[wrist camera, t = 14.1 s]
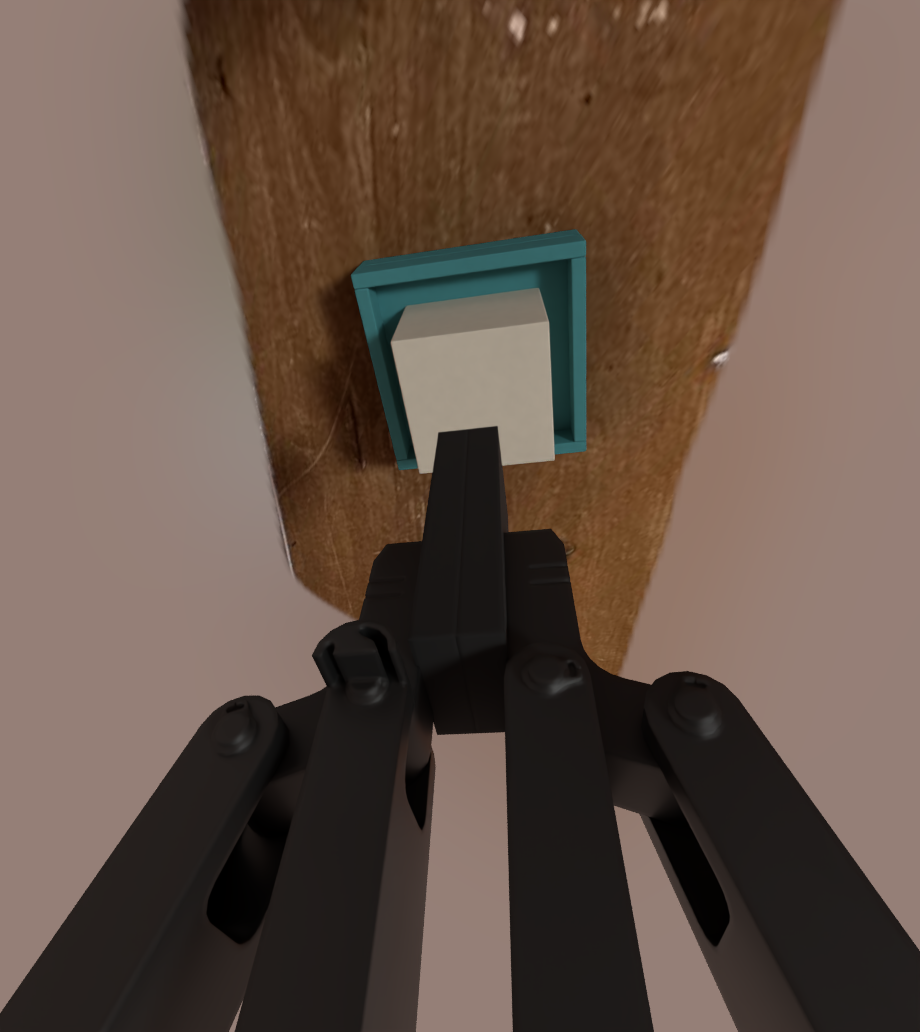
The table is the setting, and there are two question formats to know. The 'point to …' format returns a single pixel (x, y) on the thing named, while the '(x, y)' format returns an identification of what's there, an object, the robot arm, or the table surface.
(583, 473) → the table surface
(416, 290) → the shallow tray
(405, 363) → the light gray cube
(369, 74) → the table surface
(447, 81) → the table surface
